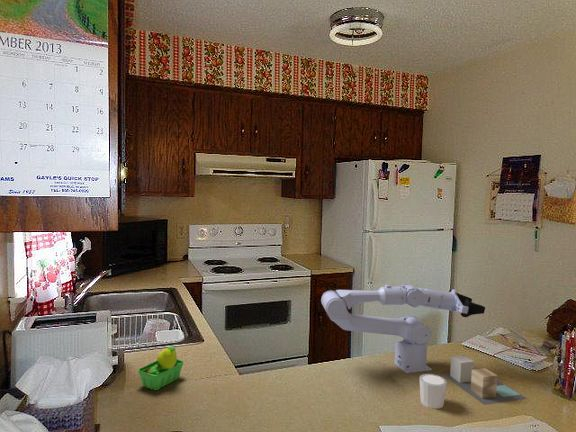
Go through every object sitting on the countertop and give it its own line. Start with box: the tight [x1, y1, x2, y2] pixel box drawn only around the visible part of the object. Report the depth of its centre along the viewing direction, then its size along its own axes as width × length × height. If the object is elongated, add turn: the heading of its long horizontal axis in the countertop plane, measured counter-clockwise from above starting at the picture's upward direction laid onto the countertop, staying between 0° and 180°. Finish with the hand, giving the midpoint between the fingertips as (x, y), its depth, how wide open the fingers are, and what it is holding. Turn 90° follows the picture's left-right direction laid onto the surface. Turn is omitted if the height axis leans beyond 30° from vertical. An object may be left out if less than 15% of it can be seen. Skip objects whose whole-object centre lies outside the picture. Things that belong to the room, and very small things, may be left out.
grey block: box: [449, 355, 475, 383], centre depth 118 cm, size 4×4×6 cm
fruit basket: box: [137, 345, 185, 391], centre depth 114 cm, size 11×9×11 cm
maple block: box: [471, 367, 498, 399], centre depth 110 cm, size 4×4×6 cm
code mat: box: [441, 372, 528, 406], centre depth 115 cm, size 14×18×1 cm
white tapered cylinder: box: [419, 373, 448, 410], centre depth 105 cm, size 7×7×7 cm
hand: (477, 305), depth 128 cm, fingers open, 7 cm apart
